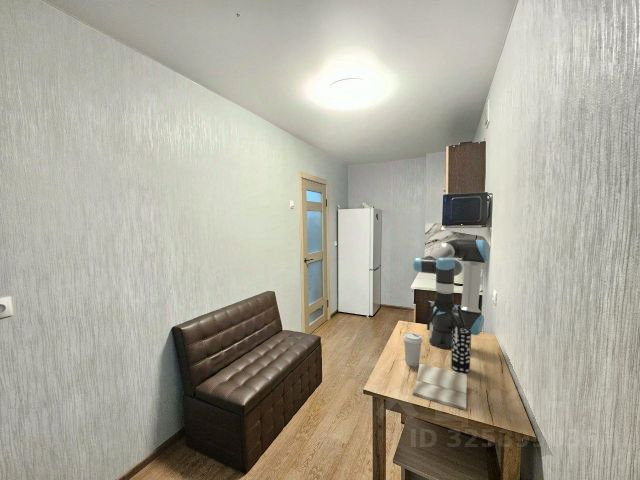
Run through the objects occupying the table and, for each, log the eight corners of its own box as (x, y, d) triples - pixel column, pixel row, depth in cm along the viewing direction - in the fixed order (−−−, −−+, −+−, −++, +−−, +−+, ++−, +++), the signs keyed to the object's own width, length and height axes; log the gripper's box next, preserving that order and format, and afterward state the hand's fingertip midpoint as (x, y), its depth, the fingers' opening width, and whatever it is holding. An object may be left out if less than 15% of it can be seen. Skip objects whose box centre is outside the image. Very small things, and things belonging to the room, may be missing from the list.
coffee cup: (423, 369, 135) (424, 340, 134) (403, 367, 137) (404, 338, 136) (420, 360, 144) (421, 332, 144) (401, 358, 146) (402, 331, 145)
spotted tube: (452, 372, 133) (453, 332, 132) (450, 364, 141) (451, 326, 140) (471, 375, 130) (472, 334, 129) (468, 367, 138) (469, 328, 137)
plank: (466, 376, 121) (466, 374, 120) (466, 395, 114) (466, 393, 114) (419, 364, 131) (419, 363, 130) (416, 381, 124) (416, 380, 123)
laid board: (466, 395, 114) (466, 393, 114) (466, 410, 105) (466, 407, 105) (416, 382, 123) (416, 379, 123) (412, 394, 114) (412, 392, 114)
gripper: (472, 293, 121) (471, 341, 122) (419, 287, 132) (418, 331, 133) (473, 296, 114) (471, 348, 115) (417, 290, 125) (415, 337, 126)
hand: (443, 339), depth 124 cm, fingers open, 10 cm apart
